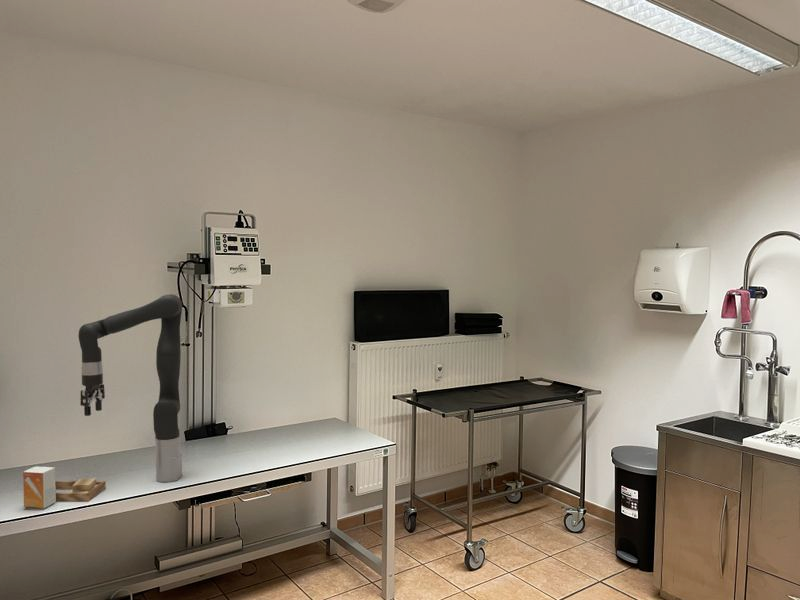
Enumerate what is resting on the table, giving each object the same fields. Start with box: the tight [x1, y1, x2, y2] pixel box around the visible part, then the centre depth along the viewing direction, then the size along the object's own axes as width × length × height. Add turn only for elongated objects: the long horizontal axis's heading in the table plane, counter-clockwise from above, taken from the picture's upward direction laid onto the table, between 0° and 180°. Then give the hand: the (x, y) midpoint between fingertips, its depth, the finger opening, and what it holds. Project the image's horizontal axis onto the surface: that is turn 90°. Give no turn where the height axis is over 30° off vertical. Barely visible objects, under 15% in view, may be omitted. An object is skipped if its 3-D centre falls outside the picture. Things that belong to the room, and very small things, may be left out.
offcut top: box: [71, 477, 97, 492], centre depth 229 cm, size 6×7×2 cm
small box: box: [22, 465, 57, 509], centre depth 218 cm, size 8×6×13 cm
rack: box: [55, 480, 107, 503], centre depth 229 cm, size 23×13×6 cm, turn 90°
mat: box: [24, 504, 53, 511], centre depth 218 cm, size 7×7×1 cm
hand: (93, 413), depth 241 cm, fingers open, 8 cm apart
